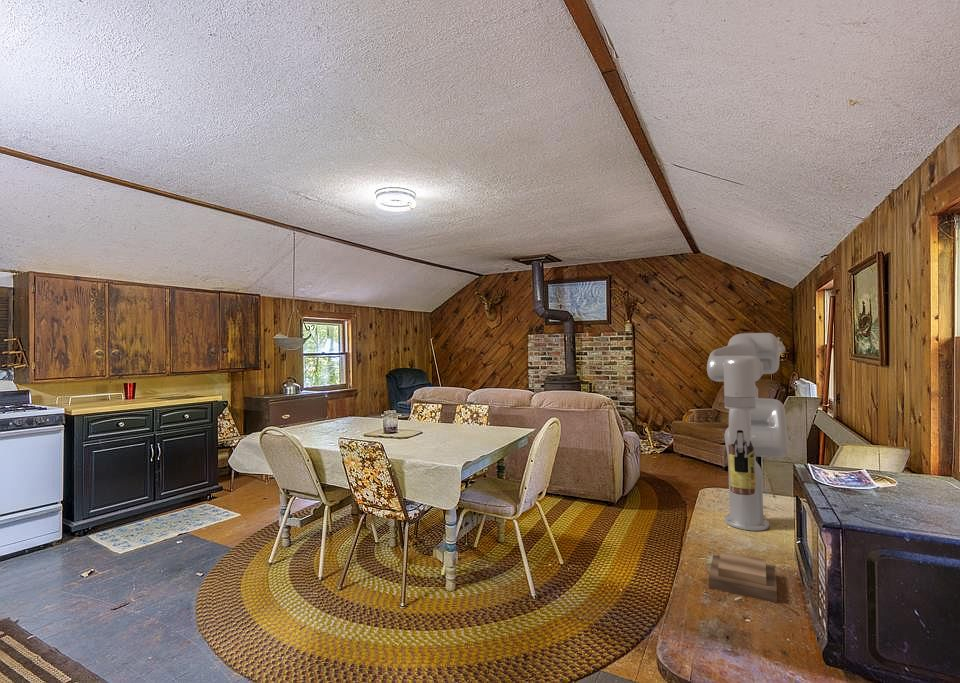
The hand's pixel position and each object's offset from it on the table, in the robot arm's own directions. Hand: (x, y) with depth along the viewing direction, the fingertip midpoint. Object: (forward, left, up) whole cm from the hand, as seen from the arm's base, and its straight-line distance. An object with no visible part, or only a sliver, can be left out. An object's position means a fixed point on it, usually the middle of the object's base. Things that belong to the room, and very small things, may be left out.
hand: (741, 468), depth 132 cm
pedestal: (+15, 0, -24) cm, 29 cm away
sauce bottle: (0, 0, -7) cm, 7 cm away
